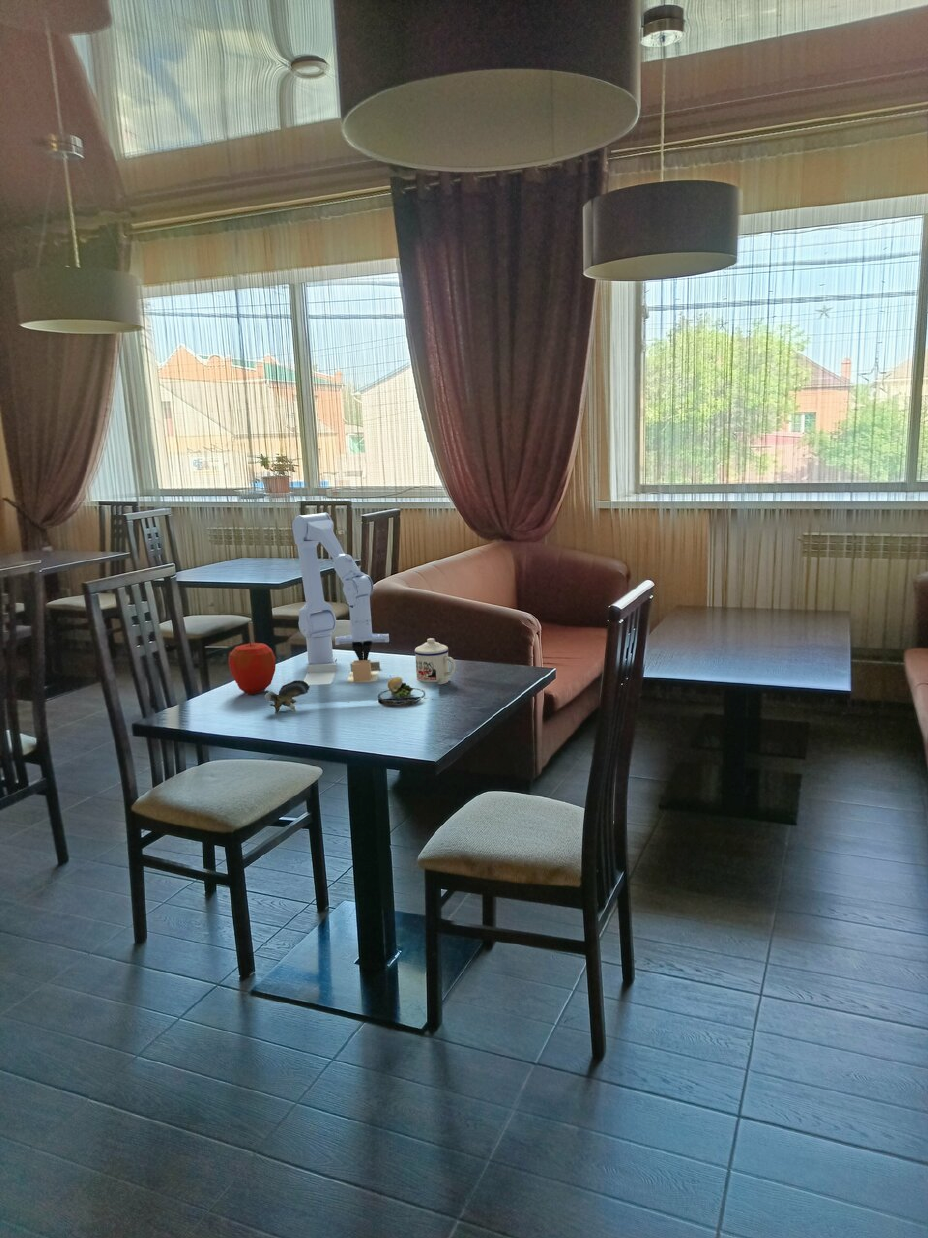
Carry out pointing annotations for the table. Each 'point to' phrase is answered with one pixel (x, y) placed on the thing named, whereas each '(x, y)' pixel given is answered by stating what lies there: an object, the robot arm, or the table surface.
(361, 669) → the block
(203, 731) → the table surface
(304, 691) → the grey-brown animal figure
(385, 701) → the burger
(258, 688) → the apple
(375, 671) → the beige lipped tray
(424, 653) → the teacup with lid
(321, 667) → the grey strip
